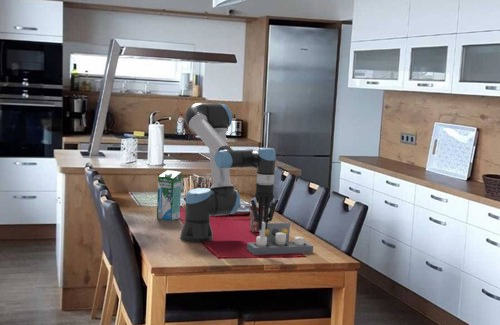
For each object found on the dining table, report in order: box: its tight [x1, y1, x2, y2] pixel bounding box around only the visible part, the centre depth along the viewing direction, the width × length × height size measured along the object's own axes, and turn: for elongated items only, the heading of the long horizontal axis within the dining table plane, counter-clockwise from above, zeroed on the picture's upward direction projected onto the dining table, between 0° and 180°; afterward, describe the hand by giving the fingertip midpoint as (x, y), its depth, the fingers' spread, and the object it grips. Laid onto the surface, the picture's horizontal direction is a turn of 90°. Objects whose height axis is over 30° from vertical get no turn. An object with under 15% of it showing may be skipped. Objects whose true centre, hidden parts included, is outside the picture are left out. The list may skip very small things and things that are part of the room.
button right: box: [293, 236, 305, 246], centre depth 299 cm, size 5×5×5 cm
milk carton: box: [156, 169, 183, 222], centre depth 352 cm, size 9×9×25 cm
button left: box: [255, 235, 267, 247], centre depth 292 cm, size 5×5×5 cm
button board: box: [246, 240, 314, 256], centre depth 296 cm, size 28×9×4 cm, turn 110°
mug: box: [249, 202, 264, 233], centre depth 337 cm, size 13×9×14 cm
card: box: [265, 222, 291, 242], centre depth 302 cm, size 14×1×12 cm, turn 110°
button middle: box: [275, 232, 286, 246], centre depth 295 cm, size 5×5×5 cm
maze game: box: [229, 203, 270, 216], centre depth 381 cm, size 35×20×3 cm, turn 107°
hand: (262, 236), depth 292 cm, fingers closed
